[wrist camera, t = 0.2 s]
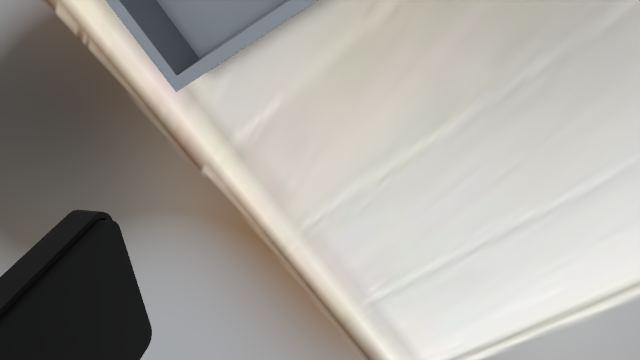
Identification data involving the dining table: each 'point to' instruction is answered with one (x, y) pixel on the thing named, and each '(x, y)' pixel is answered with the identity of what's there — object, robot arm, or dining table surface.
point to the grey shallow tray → (199, 30)
